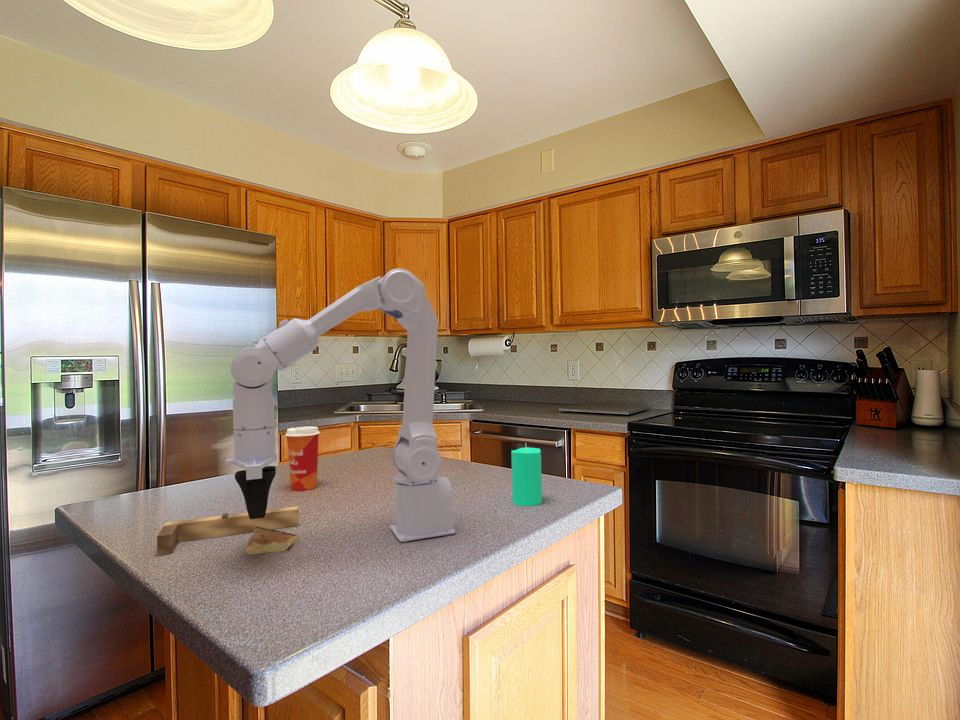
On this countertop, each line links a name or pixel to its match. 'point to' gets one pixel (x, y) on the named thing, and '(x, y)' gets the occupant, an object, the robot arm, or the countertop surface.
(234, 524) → the oak ledge
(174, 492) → the countertop surface
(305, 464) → the paper cup
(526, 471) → the candle
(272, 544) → the shard
